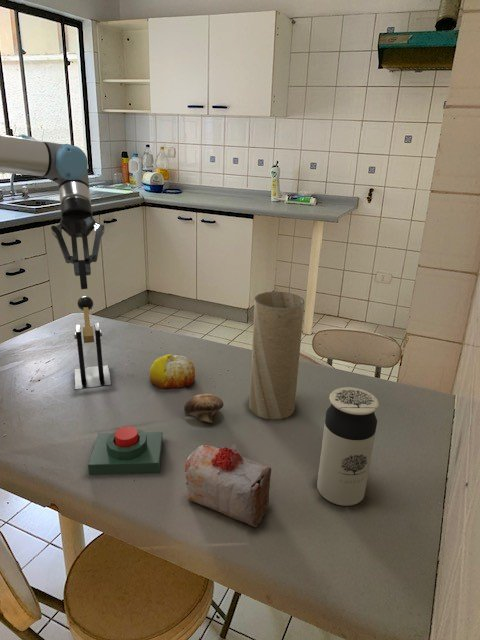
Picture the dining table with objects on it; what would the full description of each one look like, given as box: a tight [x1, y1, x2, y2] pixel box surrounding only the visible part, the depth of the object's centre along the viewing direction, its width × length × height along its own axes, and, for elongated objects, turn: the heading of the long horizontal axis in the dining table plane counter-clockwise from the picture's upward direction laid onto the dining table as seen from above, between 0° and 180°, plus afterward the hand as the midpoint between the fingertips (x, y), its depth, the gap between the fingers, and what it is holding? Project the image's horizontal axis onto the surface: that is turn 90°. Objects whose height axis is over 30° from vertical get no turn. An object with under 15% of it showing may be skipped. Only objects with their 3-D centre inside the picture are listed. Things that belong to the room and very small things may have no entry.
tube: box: [248, 291, 305, 420], centre depth 97 cm, size 10×10×25 cm
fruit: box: [149, 353, 196, 390], centre depth 109 cm, size 11×10×8 cm
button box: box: [87, 427, 164, 476], centre depth 84 cm, size 12×9×4 cm
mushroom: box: [183, 393, 224, 424], centre depth 96 cm, size 8×8×6 cm
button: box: [115, 425, 138, 447], centre depth 83 cm, size 4×4×2 cm
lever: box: [77, 295, 95, 344], centre depth 108 cm, size 13×4×4 cm, turn 19°
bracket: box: [73, 322, 112, 391], centre depth 107 cm, size 10×8×14 cm
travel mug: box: [316, 386, 380, 507], centre depth 75 cm, size 8×8×18 cm
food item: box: [184, 444, 272, 529], centre depth 74 cm, size 14×8×10 cm, turn 63°
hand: (84, 286), depth 111 cm, fingers closed
